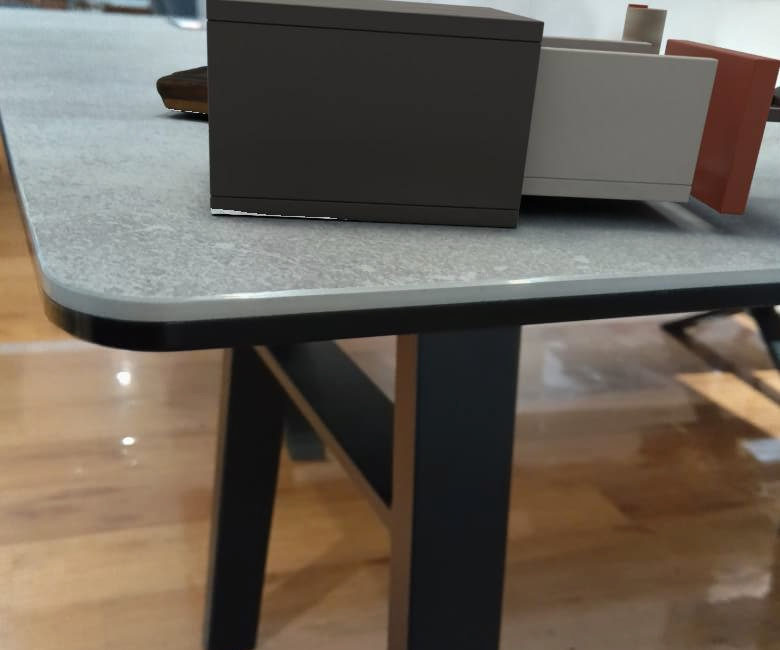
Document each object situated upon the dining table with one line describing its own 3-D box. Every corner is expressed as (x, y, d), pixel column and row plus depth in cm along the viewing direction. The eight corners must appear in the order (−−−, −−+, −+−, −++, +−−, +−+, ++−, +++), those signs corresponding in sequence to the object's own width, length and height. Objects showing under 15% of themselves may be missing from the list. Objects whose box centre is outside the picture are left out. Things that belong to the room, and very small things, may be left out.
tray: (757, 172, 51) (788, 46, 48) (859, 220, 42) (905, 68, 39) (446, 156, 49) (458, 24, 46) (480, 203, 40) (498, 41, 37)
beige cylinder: (649, 64, 94) (660, 5, 92) (662, 68, 91) (673, 7, 88) (613, 62, 94) (622, 2, 91) (624, 66, 90) (634, 4, 88)
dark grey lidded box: (472, 172, 50) (490, 7, 46) (517, 228, 40) (545, 21, 36) (229, 160, 49) (227, -12, 45) (210, 214, 38) (205, -3, 34)
